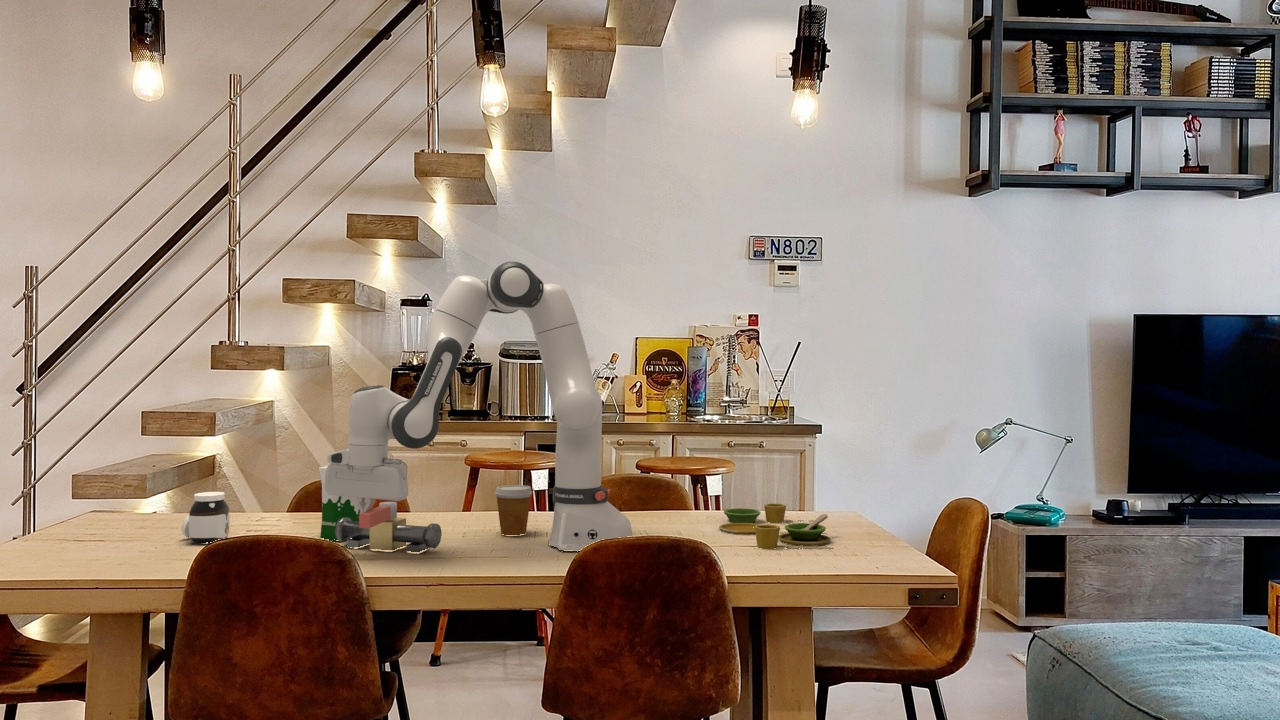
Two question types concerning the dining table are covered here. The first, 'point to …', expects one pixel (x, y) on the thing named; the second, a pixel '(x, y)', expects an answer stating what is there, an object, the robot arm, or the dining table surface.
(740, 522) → the tableware set
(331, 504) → the soya milk
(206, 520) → the spread jar
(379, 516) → the lever
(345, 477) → the robot arm
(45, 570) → the dining table surface
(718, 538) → the dining table surface
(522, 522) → the disposable coffee cup
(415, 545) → the grey pipe with feet
